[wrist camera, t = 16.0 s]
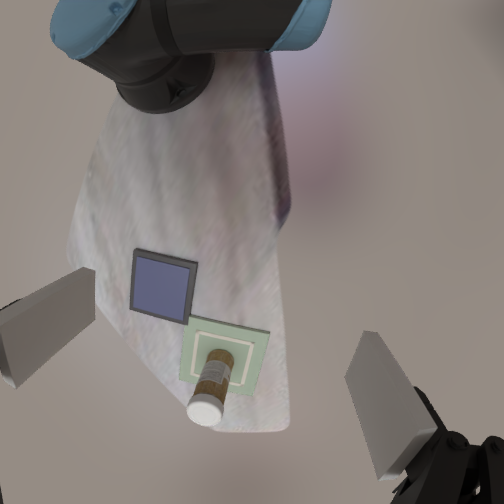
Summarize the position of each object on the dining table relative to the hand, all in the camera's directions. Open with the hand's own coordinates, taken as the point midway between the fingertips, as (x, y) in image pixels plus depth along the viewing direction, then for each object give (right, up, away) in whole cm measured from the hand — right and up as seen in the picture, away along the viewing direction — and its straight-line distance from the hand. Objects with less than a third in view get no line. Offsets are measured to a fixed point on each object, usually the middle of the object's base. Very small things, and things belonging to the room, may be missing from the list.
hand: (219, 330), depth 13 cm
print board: (-3, -14, +33) cm, 35 cm away
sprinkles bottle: (-4, -14, +32) cm, 35 cm away
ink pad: (-12, -2, +30) cm, 33 cm away
